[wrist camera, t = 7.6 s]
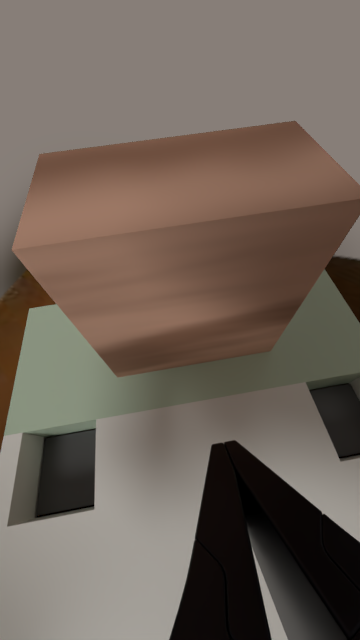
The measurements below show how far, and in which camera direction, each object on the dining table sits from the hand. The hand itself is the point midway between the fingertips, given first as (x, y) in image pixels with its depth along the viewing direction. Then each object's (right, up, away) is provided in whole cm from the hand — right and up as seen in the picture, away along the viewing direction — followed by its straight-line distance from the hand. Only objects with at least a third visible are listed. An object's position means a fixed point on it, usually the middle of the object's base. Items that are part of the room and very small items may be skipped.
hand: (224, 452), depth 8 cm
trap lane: (0, -2, +7) cm, 7 cm away
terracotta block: (-1, +4, +8) cm, 9 cm away
